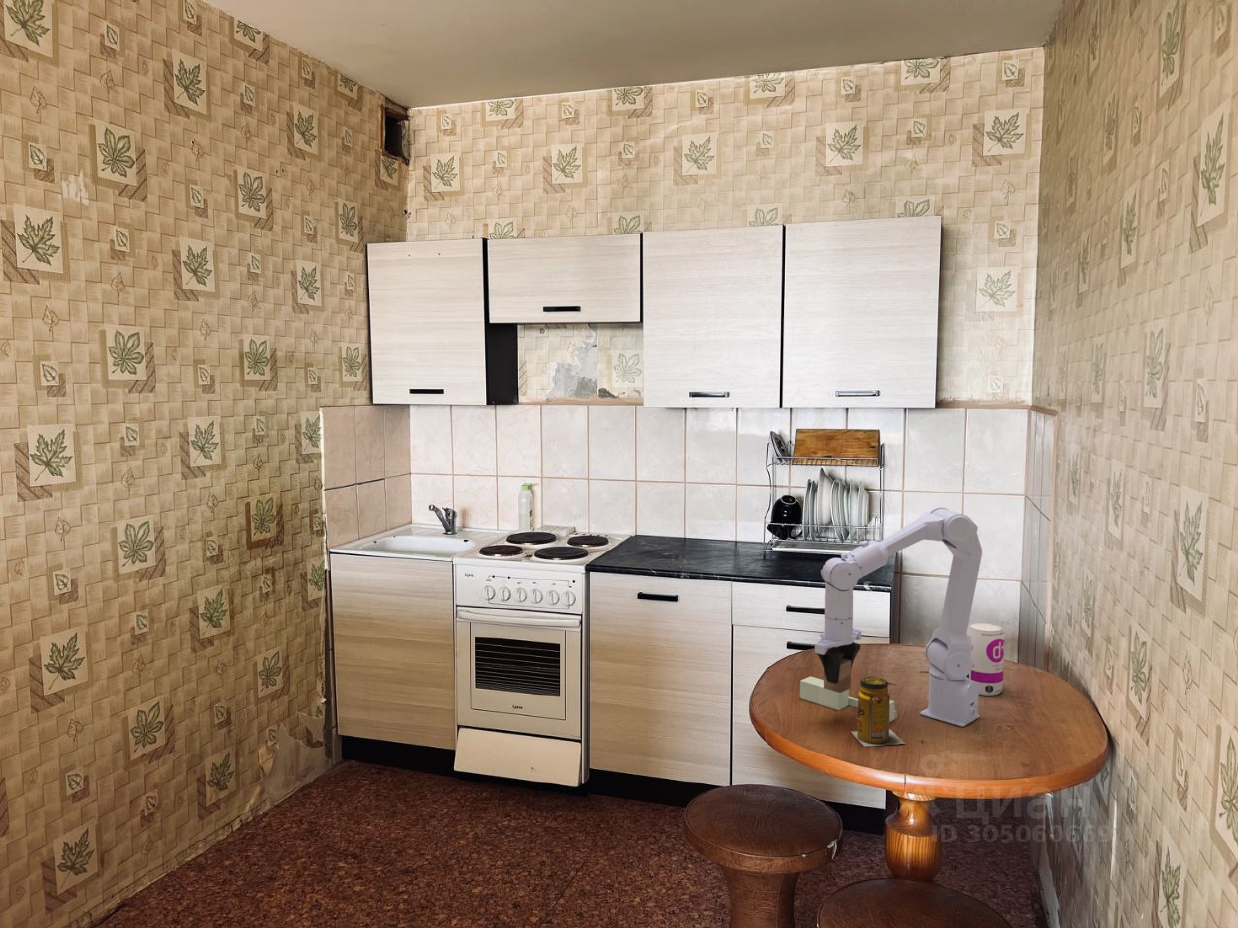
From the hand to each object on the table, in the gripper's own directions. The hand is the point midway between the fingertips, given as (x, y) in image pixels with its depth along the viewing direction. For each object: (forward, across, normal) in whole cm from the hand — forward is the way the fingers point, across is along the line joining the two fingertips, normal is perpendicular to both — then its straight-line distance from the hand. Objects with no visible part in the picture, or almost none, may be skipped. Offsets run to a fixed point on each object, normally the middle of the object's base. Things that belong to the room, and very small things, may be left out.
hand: (838, 679), depth 181 cm
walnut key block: (+2, 0, 0) cm, 2 cm away
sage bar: (+9, -7, -2) cm, 11 cm away
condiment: (+9, +2, +11) cm, 14 cm away
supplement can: (+9, -38, +14) cm, 42 cm away
